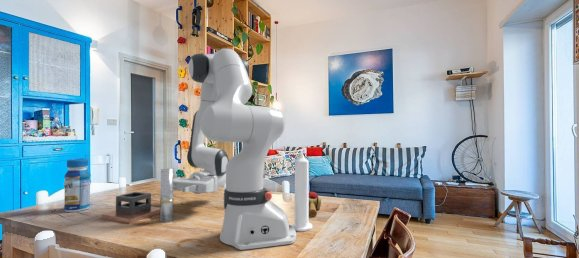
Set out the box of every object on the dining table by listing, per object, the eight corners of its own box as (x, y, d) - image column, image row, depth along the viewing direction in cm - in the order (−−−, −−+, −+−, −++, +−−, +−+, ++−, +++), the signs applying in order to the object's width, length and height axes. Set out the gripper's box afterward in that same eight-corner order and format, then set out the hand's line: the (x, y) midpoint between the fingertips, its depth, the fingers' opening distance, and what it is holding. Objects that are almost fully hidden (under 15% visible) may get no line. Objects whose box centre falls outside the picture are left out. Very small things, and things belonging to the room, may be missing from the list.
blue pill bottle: (92, 209, 107) (93, 159, 107) (65, 214, 100) (65, 160, 101) (88, 205, 112) (88, 157, 113) (61, 209, 106) (62, 159, 106)
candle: (311, 232, 83) (311, 151, 83) (288, 230, 85) (288, 151, 85) (313, 224, 90) (313, 150, 90) (292, 223, 91) (293, 149, 92)
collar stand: (136, 208, 108) (137, 189, 109) (163, 212, 103) (163, 192, 103) (101, 218, 95) (101, 197, 96) (129, 223, 90) (130, 201, 90)
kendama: (325, 220, 98) (321, 201, 116) (322, 204, 98) (319, 187, 115) (304, 223, 99) (303, 204, 117) (301, 207, 98) (301, 190, 116)
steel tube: (175, 218, 96) (175, 168, 96) (171, 222, 92) (171, 169, 92) (162, 218, 96) (163, 168, 96) (157, 222, 91) (158, 169, 91)
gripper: (179, 173, 113) (152, 178, 100) (220, 176, 106) (196, 182, 93) (179, 188, 113) (152, 195, 100) (220, 192, 106) (195, 200, 93)
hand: (173, 189), depth 96 cm, fingers open, 8 cm apart
